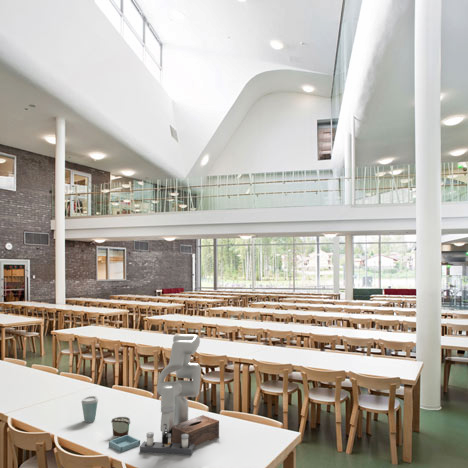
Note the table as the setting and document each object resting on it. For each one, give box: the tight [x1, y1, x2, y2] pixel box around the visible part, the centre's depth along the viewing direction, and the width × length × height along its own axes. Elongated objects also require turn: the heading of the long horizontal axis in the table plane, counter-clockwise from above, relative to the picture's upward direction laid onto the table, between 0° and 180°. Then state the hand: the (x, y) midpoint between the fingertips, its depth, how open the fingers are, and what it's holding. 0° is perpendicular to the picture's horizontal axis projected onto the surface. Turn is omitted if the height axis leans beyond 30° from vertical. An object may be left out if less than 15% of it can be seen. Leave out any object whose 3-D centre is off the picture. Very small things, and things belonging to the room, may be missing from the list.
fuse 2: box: [181, 434, 189, 448], centre depth 235 cm, size 4×4×9 cm
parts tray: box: [108, 434, 141, 453], centre depth 244 cm, size 13×13×4 cm
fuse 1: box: [146, 431, 155, 447], centre depth 238 cm, size 4×4×9 cm
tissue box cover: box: [171, 414, 220, 447], centre depth 253 cm, size 26×14×10 cm, turn 137°
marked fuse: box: [164, 433, 172, 448], centre depth 237 cm, size 4×4×9 cm
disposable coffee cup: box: [81, 395, 99, 423], centre depth 285 cm, size 11×11×15 cm
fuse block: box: [139, 441, 195, 456], centre depth 236 cm, size 29×7×4 cm, turn 83°
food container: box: [111, 416, 131, 438], centre depth 261 cm, size 12×6×10 cm, turn 74°
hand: (167, 440), depth 237 cm, fingers open, 8 cm apart
